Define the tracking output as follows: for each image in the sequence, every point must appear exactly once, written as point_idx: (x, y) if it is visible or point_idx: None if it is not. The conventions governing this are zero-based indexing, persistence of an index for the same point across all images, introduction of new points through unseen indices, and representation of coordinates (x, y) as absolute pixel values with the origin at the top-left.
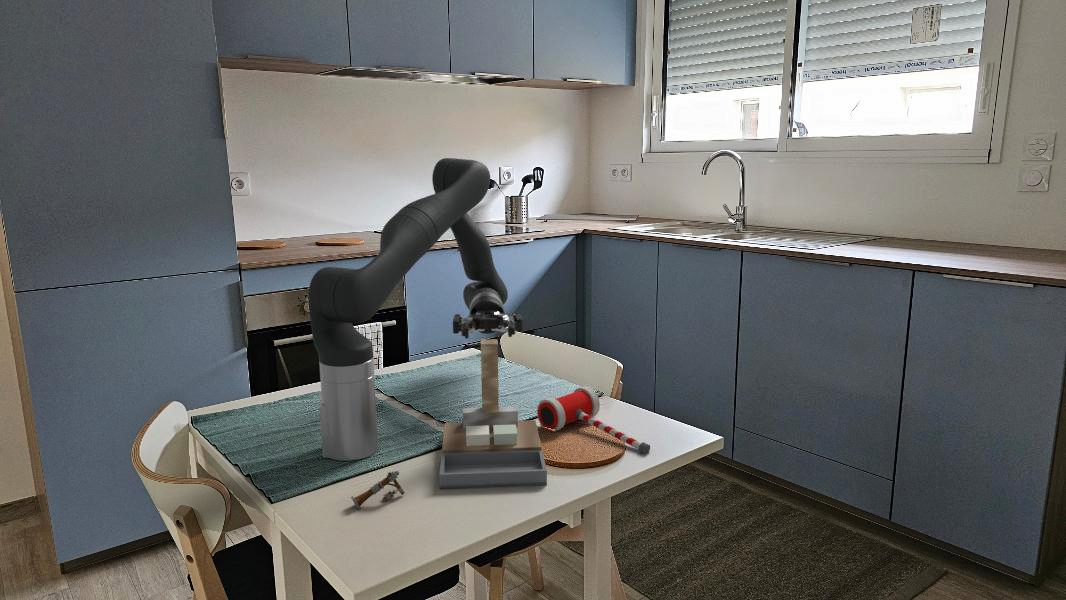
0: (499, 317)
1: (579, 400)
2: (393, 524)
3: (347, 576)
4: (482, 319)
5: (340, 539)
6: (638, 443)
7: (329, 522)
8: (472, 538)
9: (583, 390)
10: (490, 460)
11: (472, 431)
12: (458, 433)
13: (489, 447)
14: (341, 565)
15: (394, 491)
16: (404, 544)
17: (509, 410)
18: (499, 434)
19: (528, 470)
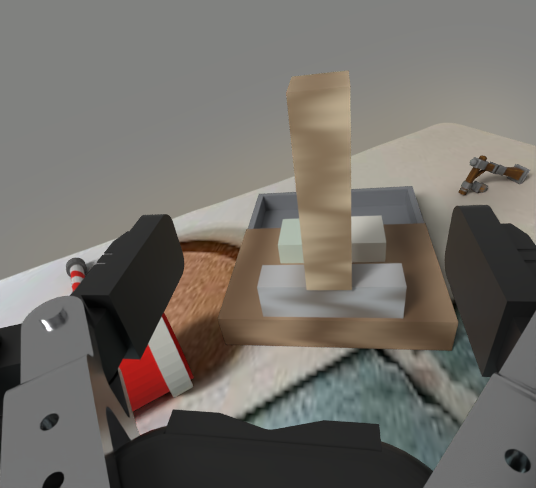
0: (105, 414)
1: None
2: (448, 163)
3: (461, 126)
4: (345, 444)
5: (498, 149)
6: (77, 267)
7: (532, 163)
8: (357, 154)
9: None
10: None
11: (369, 225)
12: (405, 273)
13: None
14: (474, 132)
15: (472, 183)
16: (424, 147)
17: (281, 268)
18: None
19: (283, 193)
